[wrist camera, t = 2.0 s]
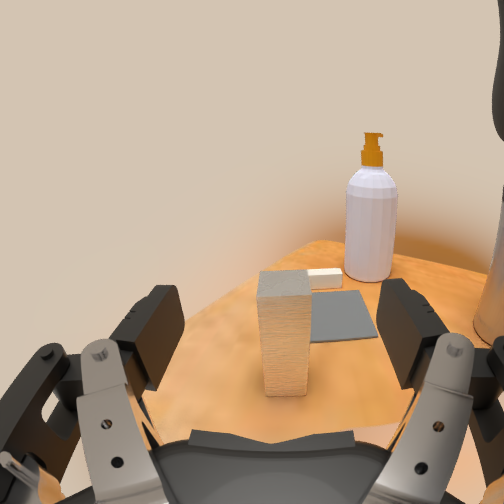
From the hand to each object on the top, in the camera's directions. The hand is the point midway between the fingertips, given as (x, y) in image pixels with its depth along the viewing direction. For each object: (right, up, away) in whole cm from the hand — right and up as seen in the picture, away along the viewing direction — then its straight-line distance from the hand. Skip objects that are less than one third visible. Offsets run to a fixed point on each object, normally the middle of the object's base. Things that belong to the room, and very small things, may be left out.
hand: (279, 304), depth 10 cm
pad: (+11, -7, +26) cm, 28 cm away
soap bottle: (+20, -2, +36) cm, 41 cm away
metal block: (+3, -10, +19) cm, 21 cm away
